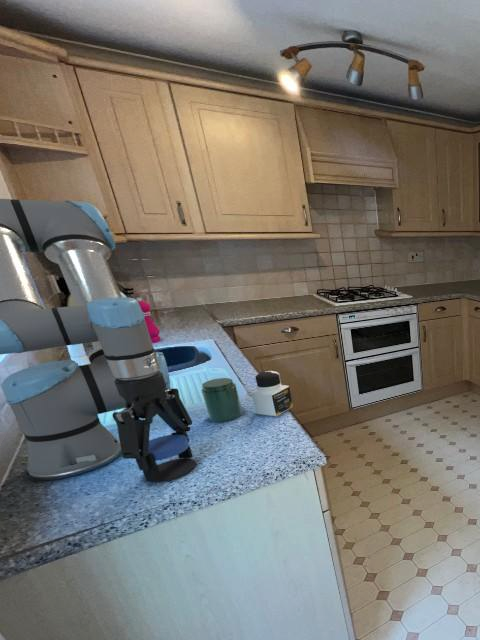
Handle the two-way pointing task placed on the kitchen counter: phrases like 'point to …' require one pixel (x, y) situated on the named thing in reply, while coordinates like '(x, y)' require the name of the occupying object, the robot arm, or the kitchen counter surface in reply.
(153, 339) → the pepper mill
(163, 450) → the jam lid
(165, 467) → the rubber mat
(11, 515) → the kitchen counter surface
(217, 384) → the jam jar
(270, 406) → the medicine bottle
